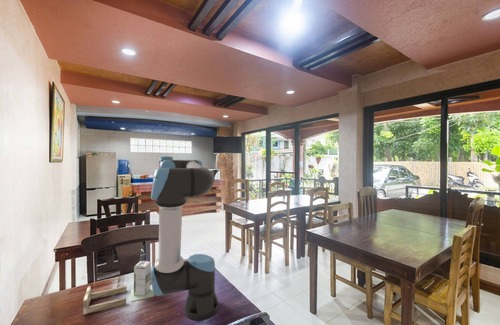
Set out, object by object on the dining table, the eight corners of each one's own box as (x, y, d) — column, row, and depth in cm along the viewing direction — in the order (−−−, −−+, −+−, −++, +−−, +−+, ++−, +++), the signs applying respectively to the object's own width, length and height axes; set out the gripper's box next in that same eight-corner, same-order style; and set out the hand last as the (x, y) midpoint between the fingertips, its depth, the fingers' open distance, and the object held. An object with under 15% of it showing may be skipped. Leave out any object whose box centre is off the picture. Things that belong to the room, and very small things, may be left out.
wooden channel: (126, 304, 107) (126, 291, 107) (83, 314, 100) (83, 300, 99) (126, 290, 118) (126, 278, 118) (87, 299, 111) (87, 286, 110)
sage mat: (154, 296, 113) (154, 295, 113) (130, 302, 109) (130, 301, 109) (152, 285, 123) (152, 284, 123) (130, 290, 118) (130, 289, 118)
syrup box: (139, 289, 119) (139, 260, 118) (150, 289, 119) (150, 261, 118) (133, 295, 113) (133, 265, 113) (145, 295, 113) (145, 266, 113)
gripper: (176, 185, 125) (176, 224, 125) (169, 180, 147) (169, 214, 147) (161, 185, 121) (161, 226, 122) (156, 181, 144) (156, 215, 144)
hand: (165, 219), depth 135 cm, fingers open, 13 cm apart
